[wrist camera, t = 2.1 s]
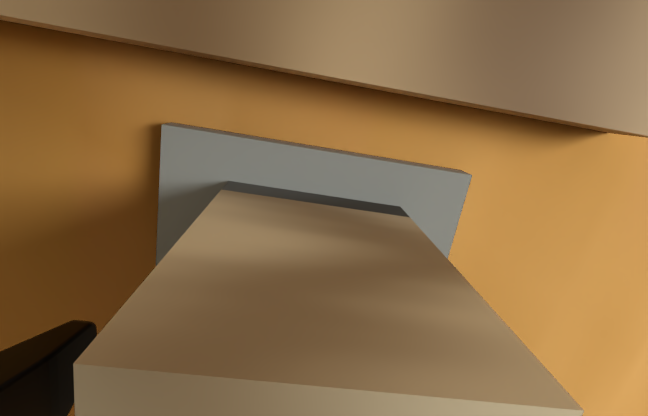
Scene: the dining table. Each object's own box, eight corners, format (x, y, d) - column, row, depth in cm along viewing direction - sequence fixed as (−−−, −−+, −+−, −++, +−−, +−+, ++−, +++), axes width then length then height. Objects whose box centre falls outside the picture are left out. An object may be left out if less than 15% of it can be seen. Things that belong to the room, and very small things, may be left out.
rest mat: (461, 170, 9) (472, 175, 8) (383, 444, 12) (387, 463, 11) (171, 122, 8) (161, 124, 8) (156, 427, 11) (147, 446, 10)
